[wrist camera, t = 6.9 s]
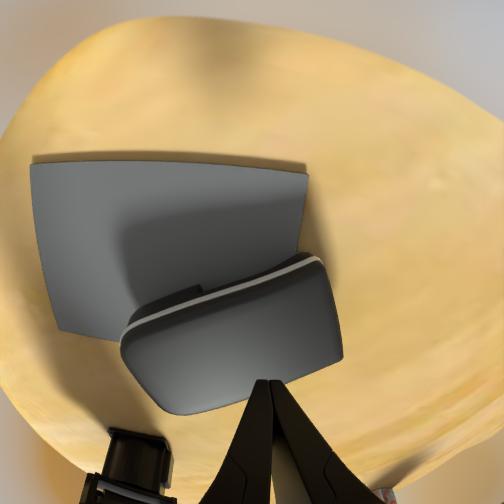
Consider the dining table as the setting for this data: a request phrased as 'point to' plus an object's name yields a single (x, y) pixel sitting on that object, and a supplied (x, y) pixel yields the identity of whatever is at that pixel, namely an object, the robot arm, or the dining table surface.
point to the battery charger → (234, 337)
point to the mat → (155, 232)
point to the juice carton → (386, 495)
